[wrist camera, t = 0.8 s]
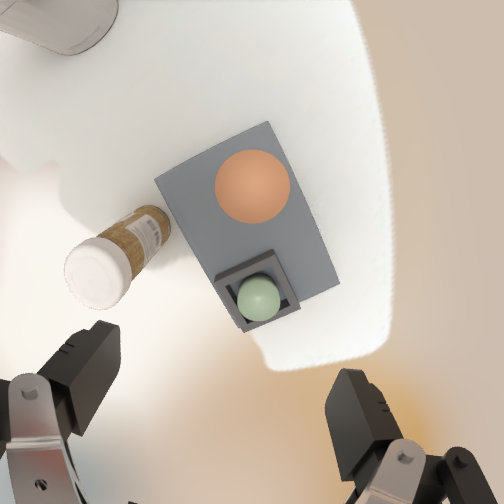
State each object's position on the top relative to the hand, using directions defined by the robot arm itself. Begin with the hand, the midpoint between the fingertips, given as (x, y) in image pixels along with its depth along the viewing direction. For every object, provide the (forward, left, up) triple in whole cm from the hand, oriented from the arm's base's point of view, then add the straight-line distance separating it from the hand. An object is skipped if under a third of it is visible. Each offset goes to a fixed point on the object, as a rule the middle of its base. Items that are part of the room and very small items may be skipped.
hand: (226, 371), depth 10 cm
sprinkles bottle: (-4, -8, -21) cm, 23 cm away
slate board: (+1, +1, -21) cm, 21 cm away
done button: (+6, -1, -19) cm, 20 cm away
